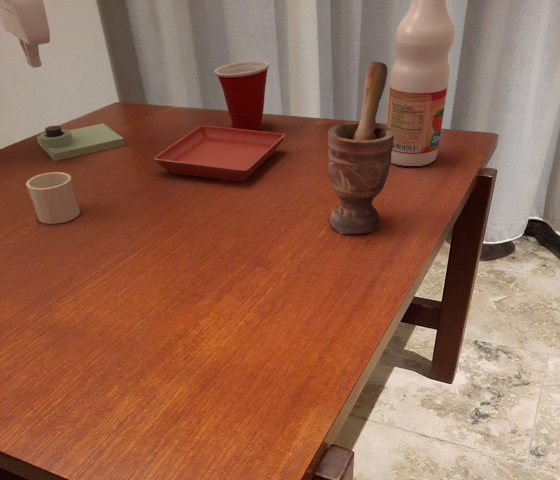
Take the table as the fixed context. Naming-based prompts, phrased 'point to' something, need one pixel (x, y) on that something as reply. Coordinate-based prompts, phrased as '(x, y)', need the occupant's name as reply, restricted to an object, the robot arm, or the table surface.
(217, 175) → the plant saucer
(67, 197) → the ramekin
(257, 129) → the plastic cup
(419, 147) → the fruit juice
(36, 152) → the table surface
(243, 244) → the table surface
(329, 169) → the mortar and pestle
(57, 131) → the button
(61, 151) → the scale
